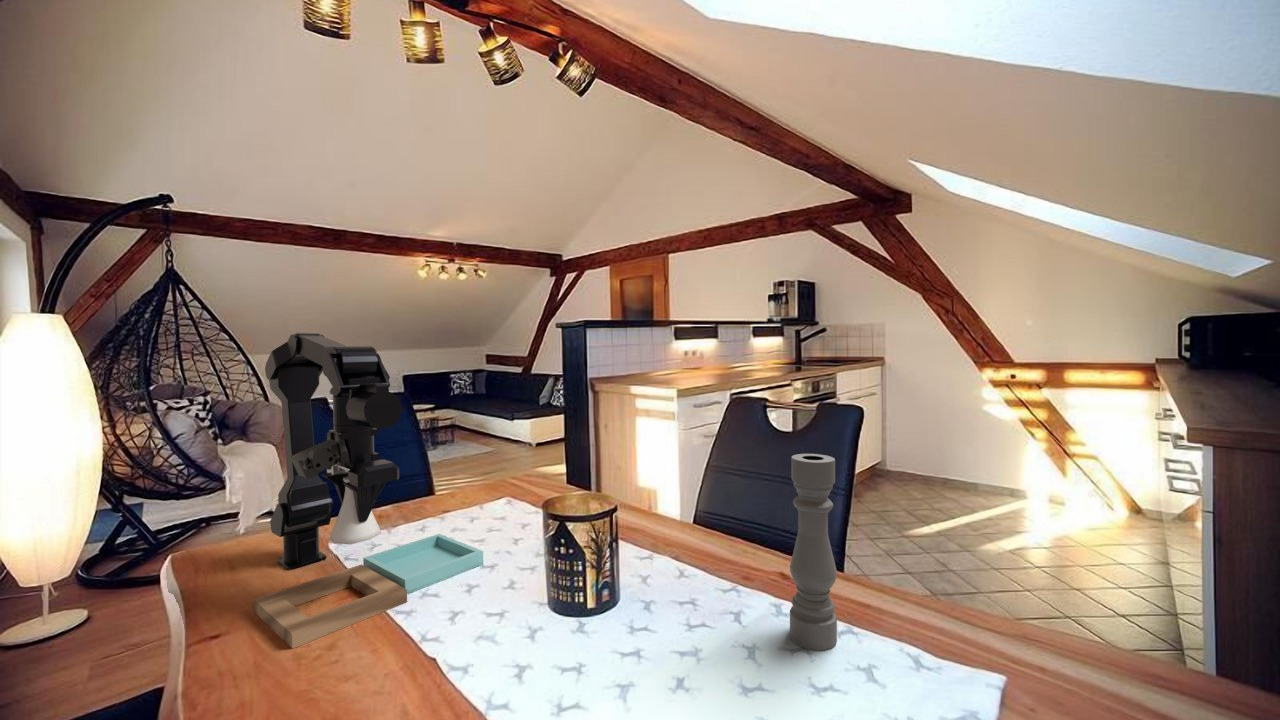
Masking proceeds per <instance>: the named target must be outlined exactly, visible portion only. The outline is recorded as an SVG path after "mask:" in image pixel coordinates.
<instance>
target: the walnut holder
mask: <svg viewBox="0 0 1280 720" xmlns="http://www.w3.org/2000/svg"><path fill="white" fill-rule="evenodd" d="M350 587H352V588H353V589H355V590H357V591H358V592H359V593H361V594H363V595H364V596H363V597H361V598H358V599H354V600H352V601H349V602H347V603H344V604H342V605H339V606H337V607H333V608H330V609H328V610H326V611H323V612H320V613H318V614H315V615H312V616H309V617H308V616H307V615H305V614H304V613H303V612H302V611H300V610H299V608H297V606H299V605H302V604H305V603H308V602H311V601H313V600H316V599H319V598H321V597H322V598H323V597H325V596H327V595H330V594H333V593H336V592H339V591H342V590H346V589H348V588H350ZM406 603H408V594H407V589H405V588H403V587H401V586H399V585H398V584H396V583H394V582H392V581H390V580H389V579H387V578H385V577H383V576H381V575H380V574H378V573H376V572H374V571H372V570H371V569H369V568H367V567H365V566H363V564H358V565H355V566H352V567H349V568H347V569H343V570H340V571H337V572H334V573H331V574H328V575H324V576H322V577H321V576H320V577H318V578H315V579H311V580H309V581H306V582H302V583H300V584H297V585H293V586H291V587H288V588H284V589H281V590H279V591H275V592H272V593H268V594H266V595H265V594H264V595H263V596H259V597H257V598H253V612H254V614H255V615H256V616H257V617H259V618H260V619H261V620H262V621H263V622H264V623H265V624H266V625H267V626H268V627H269V628H270V629H271V630H272V631H273V632H274V633H275V634H277V636H278V637H280V639H282V640H283V642H284V643H286V644H287V645H288V646H289V647H290V648H291V649H296V648H297V647H300V646H302V645H305V644H307V643H310V642H312V641H315V640H317V639H320V638H322V637H325V636H327V635H330V634H333V633H334V632H337V631H339V630H342V629H344V628H347V627H349V626H351V625H355V624H357V623H359V622H361V621H364V620H368V619H369V618H371V617H374V616H376V615H378V614H381V613H384V612H386V611H388V610H391V609H393V608H395V607H396V608H397V607H399V606H401V605H403V604H406Z"/></svg>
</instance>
